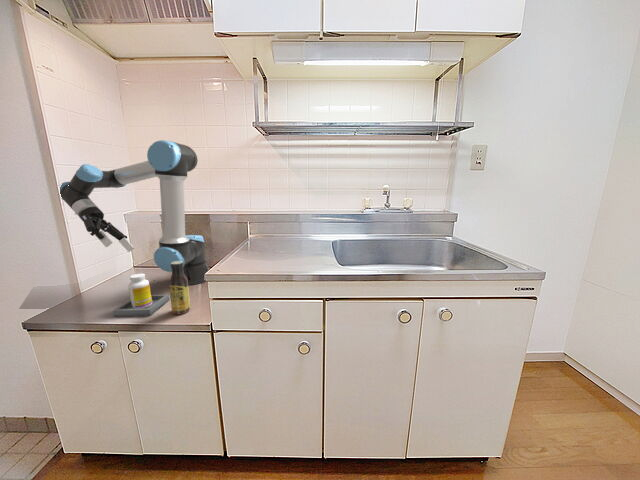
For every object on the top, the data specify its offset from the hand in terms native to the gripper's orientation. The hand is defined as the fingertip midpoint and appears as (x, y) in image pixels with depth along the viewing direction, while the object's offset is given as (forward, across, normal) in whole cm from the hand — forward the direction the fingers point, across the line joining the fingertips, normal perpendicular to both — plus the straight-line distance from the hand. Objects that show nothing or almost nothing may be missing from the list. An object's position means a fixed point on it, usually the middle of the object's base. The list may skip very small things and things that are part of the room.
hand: (121, 247), depth 107 cm
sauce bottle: (+40, +7, +3) cm, 40 cm away
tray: (+27, +3, -8) cm, 28 cm away
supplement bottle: (+26, +3, -8) cm, 28 cm away
